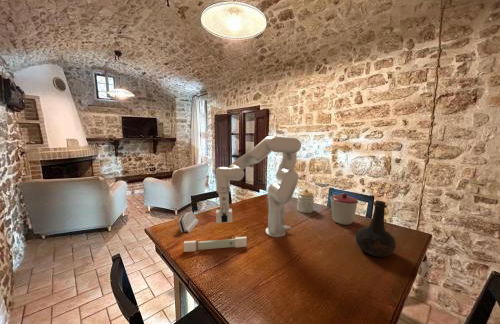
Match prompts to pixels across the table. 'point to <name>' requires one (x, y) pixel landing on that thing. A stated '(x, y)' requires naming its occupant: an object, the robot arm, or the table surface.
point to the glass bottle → (376, 234)
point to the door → (215, 244)
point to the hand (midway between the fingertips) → (224, 219)
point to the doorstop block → (219, 213)
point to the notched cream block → (192, 244)
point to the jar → (305, 201)
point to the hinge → (187, 222)
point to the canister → (343, 208)
